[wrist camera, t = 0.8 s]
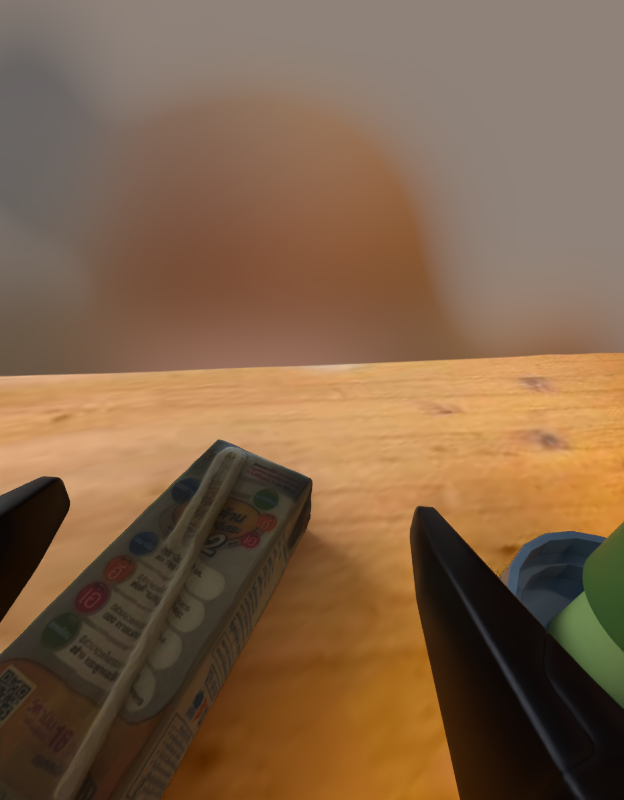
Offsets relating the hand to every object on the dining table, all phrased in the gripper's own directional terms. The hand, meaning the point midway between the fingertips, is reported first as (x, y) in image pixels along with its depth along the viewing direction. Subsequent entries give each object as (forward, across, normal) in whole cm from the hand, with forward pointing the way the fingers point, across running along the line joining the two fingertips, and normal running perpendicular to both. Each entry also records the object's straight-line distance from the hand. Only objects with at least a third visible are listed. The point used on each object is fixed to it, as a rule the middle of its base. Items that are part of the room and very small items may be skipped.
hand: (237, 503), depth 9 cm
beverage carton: (+5, +5, +16) cm, 17 cm away
